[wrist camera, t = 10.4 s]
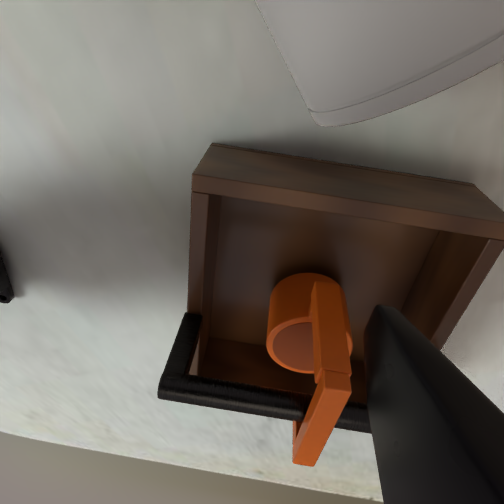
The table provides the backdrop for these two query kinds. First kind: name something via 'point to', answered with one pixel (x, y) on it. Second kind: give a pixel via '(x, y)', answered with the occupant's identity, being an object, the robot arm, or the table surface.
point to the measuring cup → (312, 352)
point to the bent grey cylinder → (381, 50)
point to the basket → (327, 253)
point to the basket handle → (239, 388)
